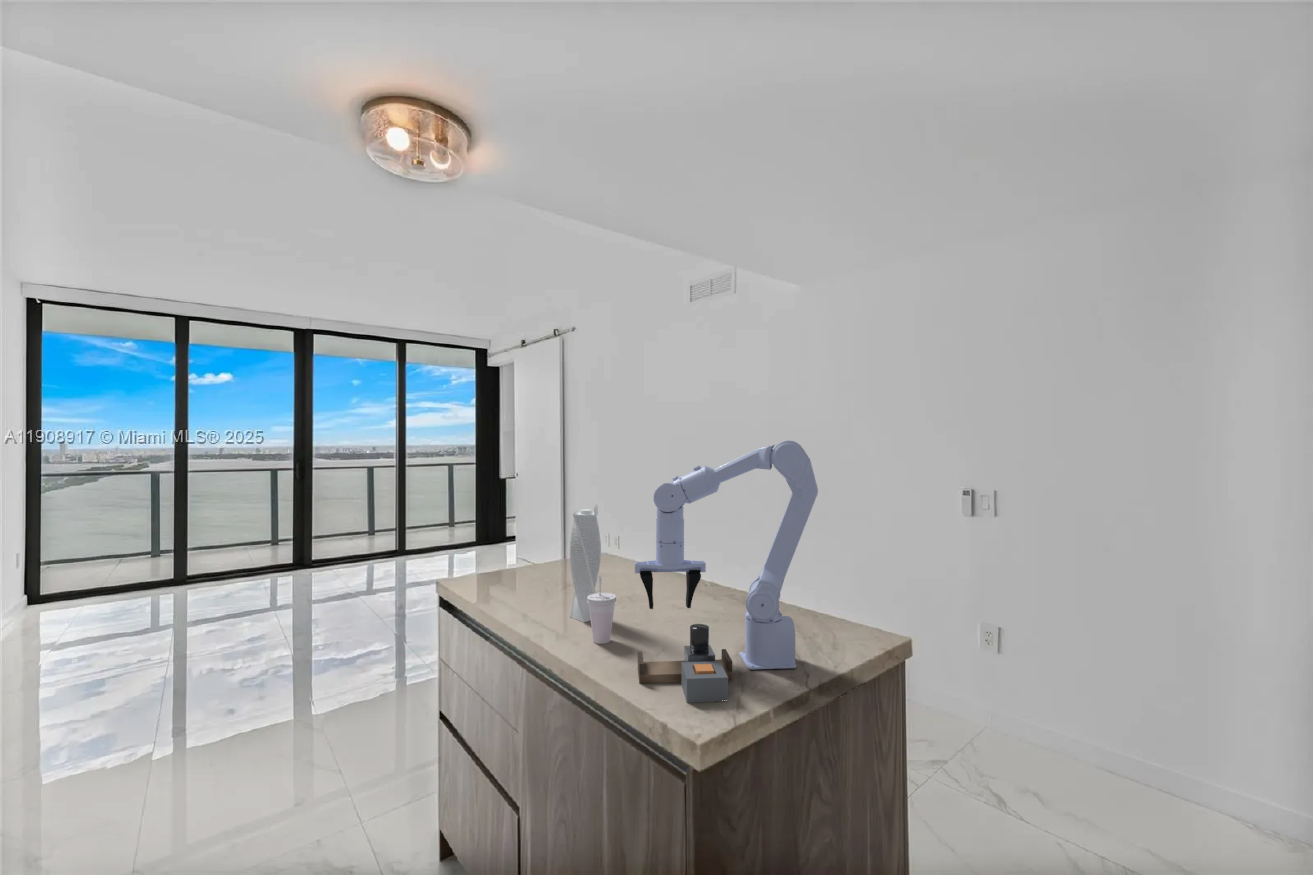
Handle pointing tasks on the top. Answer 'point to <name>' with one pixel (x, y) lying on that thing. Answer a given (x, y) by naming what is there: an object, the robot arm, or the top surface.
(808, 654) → the top surface
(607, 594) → the smoothie
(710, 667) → the button
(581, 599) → the skyscraper
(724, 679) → the block
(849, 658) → the top surface
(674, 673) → the rail
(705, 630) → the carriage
